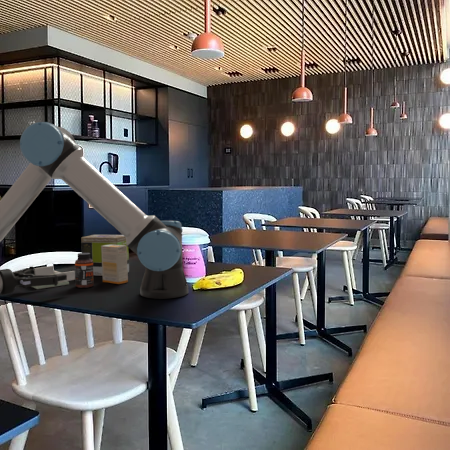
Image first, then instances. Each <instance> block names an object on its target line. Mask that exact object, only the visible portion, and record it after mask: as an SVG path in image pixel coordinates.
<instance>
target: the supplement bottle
mask: <svg viewBox="0 0 450 450" xmlns="http://www.w3.org/2000/svg"><path fill="white" fill-rule="evenodd" d="M74 271H75V287H76V288H79V289H80V288H81V289H85V288H86V289H87V288H91V287H94V281H95V280H94V279H95V278H94V275H93V260H92V259H91V258H90V253H82V252H79V253H77V259H76V260H75V262H74Z"/></svg>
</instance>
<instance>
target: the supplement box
mask: <svg viewBox="0 0 450 450" xmlns="http://www.w3.org/2000/svg"><path fill="white" fill-rule="evenodd" d="M101 251H102V275H103V276H102V283H110V284H116V285H122V284H125V283H128V282H129V276H128V275H129V274H128V273H129V272H128V271H127V246H125V245H113V244H109V245H103V246H101Z"/></svg>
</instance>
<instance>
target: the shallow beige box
mask: <svg viewBox="0 0 450 450" xmlns="http://www.w3.org/2000/svg"><path fill="white" fill-rule="evenodd" d="M57 273H62V272H61V271H57V270H55V269H54V274H57ZM54 274H51V275H54ZM65 285H70V282H69V281H64V282H58V284H57V285H56V286H55V285H43V286H31V288H34V289H36V290H41V289H46V288H53V287H59V286H65Z"/></svg>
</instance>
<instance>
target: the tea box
mask: <svg viewBox="0 0 450 450" xmlns="http://www.w3.org/2000/svg"><path fill="white" fill-rule="evenodd" d="M80 239H81V242H80V243H81V253H90V258H91V259H92V260H93V276H102V277H103V275H102V251H101V246H103V245H109V244H113V245H125V246H127V245H126V237H125V236H124V235H123V234H91V235H87V236H82V237H81V238H80ZM129 250H130V249H129V247H128V246H127V271H128V273H129V272H130V259H129V258H130V253H129Z"/></svg>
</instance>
